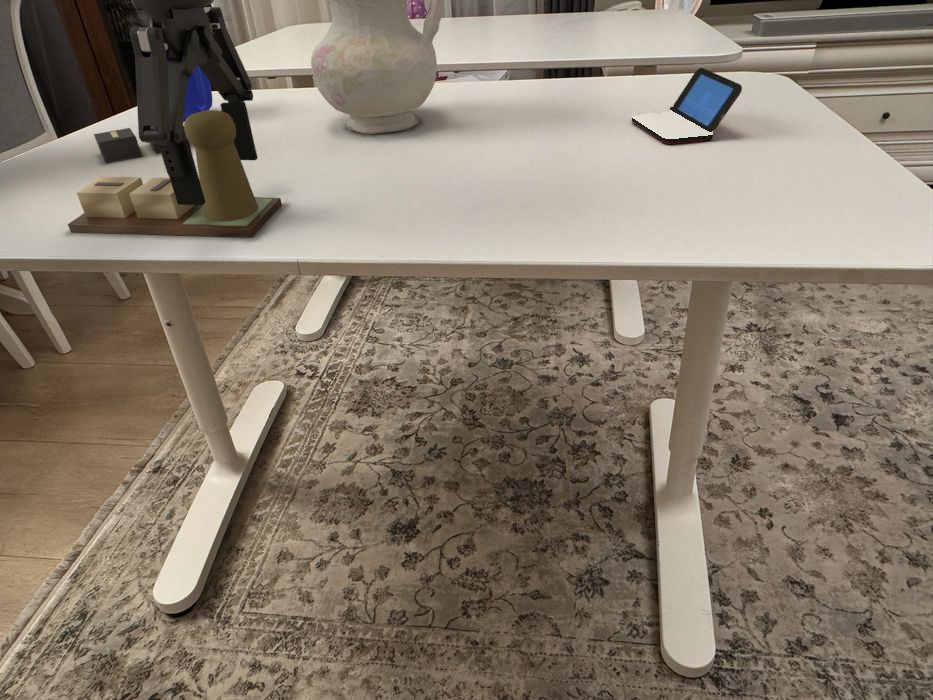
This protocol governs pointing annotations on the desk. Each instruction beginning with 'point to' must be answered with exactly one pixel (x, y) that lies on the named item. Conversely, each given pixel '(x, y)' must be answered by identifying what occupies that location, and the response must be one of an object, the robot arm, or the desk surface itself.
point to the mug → (197, 93)
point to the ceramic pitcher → (376, 63)
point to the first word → (122, 145)
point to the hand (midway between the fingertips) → (221, 180)
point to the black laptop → (702, 103)
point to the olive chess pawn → (220, 166)
